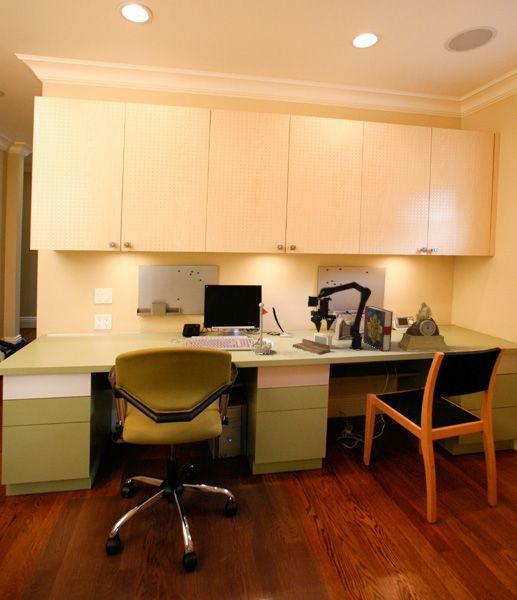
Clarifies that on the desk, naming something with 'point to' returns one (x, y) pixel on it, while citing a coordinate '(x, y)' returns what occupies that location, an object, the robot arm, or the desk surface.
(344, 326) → the decorative sign
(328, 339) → the picture frame
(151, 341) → the desk surface
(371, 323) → the book
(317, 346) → the picture ledge
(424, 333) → the decorative clock
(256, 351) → the flag stand
